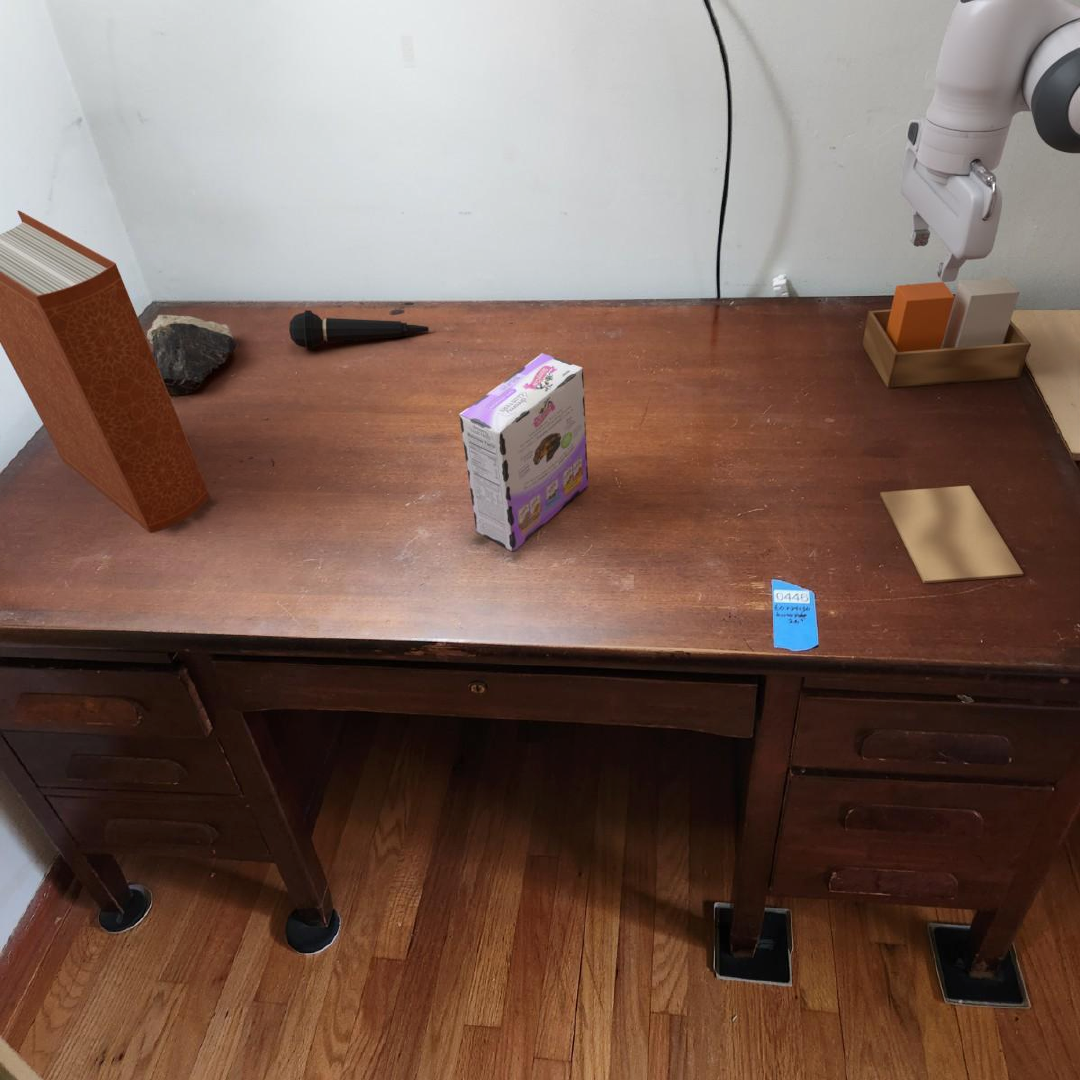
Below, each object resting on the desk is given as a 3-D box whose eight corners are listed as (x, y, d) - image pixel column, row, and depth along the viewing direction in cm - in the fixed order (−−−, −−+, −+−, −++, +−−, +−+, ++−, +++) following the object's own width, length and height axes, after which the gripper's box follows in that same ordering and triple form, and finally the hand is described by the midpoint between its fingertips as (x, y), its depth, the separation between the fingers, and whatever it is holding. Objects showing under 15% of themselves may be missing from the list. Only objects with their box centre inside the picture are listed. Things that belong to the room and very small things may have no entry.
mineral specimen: (219, 297, 134) (239, 335, 123) (233, 342, 139) (253, 384, 128) (130, 317, 130) (142, 359, 119) (146, 364, 135) (160, 408, 124)
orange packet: (925, 350, 123) (943, 281, 116) (936, 366, 120) (955, 296, 113) (880, 353, 123) (896, 285, 116) (890, 369, 120) (906, 300, 113)
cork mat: (968, 488, 102) (969, 485, 102) (1022, 576, 92) (1023, 573, 92) (879, 494, 102) (880, 492, 102) (923, 583, 92) (924, 580, 92)
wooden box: (985, 334, 125) (995, 301, 122) (1019, 378, 117) (1031, 343, 114) (861, 343, 125) (868, 310, 122) (887, 388, 117) (895, 354, 114)
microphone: (428, 344, 138) (292, 346, 135) (427, 305, 136) (289, 307, 133) (429, 352, 133) (289, 354, 130) (428, 312, 131) (285, 313, 128)
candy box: (550, 469, 109) (542, 349, 98) (590, 487, 107) (586, 366, 95) (474, 532, 102) (455, 411, 91) (513, 553, 99) (500, 431, 88)
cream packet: (985, 345, 122) (1006, 276, 116) (997, 361, 120) (1020, 291, 113) (940, 349, 123) (959, 280, 116) (951, 365, 120) (971, 295, 113)
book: (63, 460, 117) (-56, 237, 96) (121, 430, 121) (18, 210, 101) (154, 536, 105) (41, 300, 84) (215, 500, 109) (121, 266, 89)
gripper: (1030, 179, 94) (992, 300, 104) (955, 113, 109) (927, 224, 119) (969, 183, 95) (936, 304, 104) (902, 116, 109) (879, 227, 119)
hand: (931, 261), depth 112 cm, fingers open, 8 cm apart
